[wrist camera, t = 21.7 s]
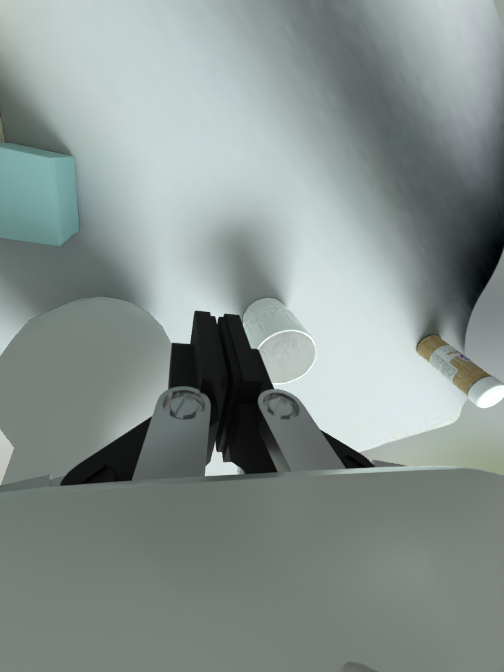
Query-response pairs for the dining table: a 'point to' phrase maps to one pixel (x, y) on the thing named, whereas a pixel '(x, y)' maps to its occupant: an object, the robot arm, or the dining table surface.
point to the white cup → (279, 340)
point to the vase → (79, 383)
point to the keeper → (37, 195)
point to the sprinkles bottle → (461, 372)
